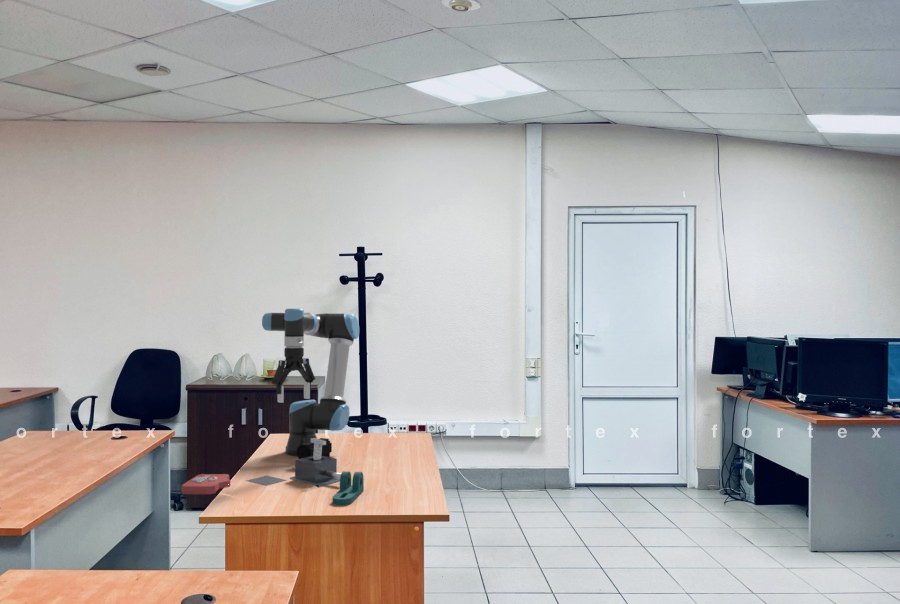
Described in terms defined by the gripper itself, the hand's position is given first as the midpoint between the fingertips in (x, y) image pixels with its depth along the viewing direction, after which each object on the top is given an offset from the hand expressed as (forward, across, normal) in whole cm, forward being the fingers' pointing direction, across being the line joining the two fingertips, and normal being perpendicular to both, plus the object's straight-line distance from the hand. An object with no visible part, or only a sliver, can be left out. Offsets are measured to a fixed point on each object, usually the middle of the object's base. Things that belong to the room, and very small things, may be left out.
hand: (293, 400), depth 279 cm
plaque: (+29, -34, +7) cm, 45 cm away
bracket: (+29, -13, -42) cm, 53 cm away
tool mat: (+29, -16, -3) cm, 33 cm away
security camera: (+29, +15, +3) cm, 32 cm away
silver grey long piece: (+28, -3, -16) cm, 32 cm away
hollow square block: (+29, -3, -19) cm, 35 cm away
